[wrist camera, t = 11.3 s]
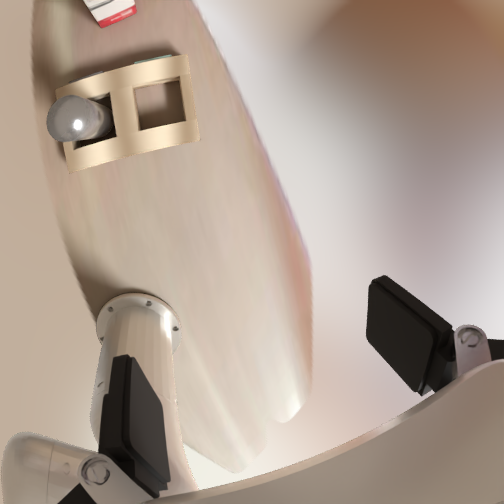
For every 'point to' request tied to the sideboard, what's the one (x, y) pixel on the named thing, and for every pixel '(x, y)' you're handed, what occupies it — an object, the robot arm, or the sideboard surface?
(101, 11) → the ink box
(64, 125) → the peg
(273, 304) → the sideboard surface
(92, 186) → the sideboard surface
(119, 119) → the socket block
